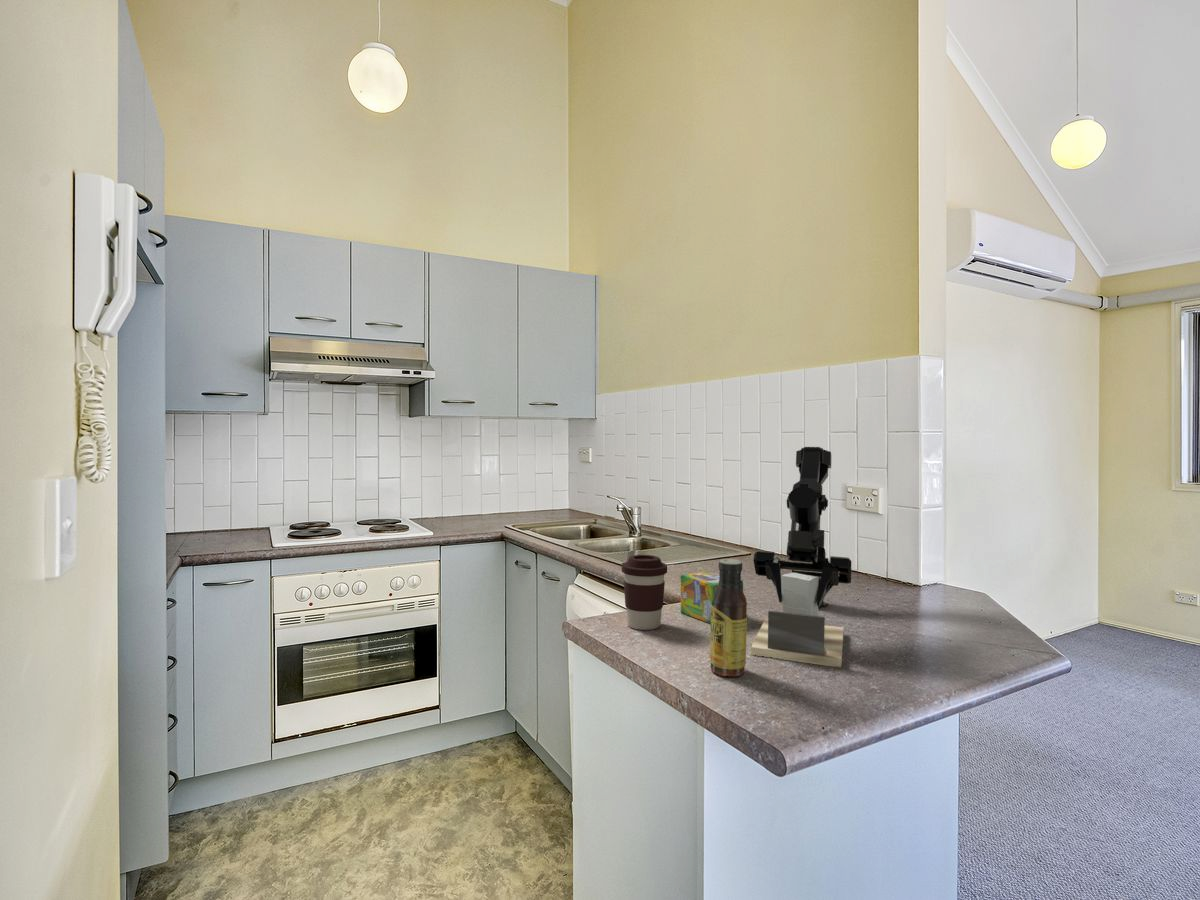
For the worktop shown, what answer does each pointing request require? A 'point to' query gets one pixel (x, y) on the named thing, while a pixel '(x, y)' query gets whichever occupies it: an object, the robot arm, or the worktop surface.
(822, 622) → the base with upright panel
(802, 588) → the skincare box
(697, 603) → the chalk box
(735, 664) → the sauce bottle
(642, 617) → the coffee cup
